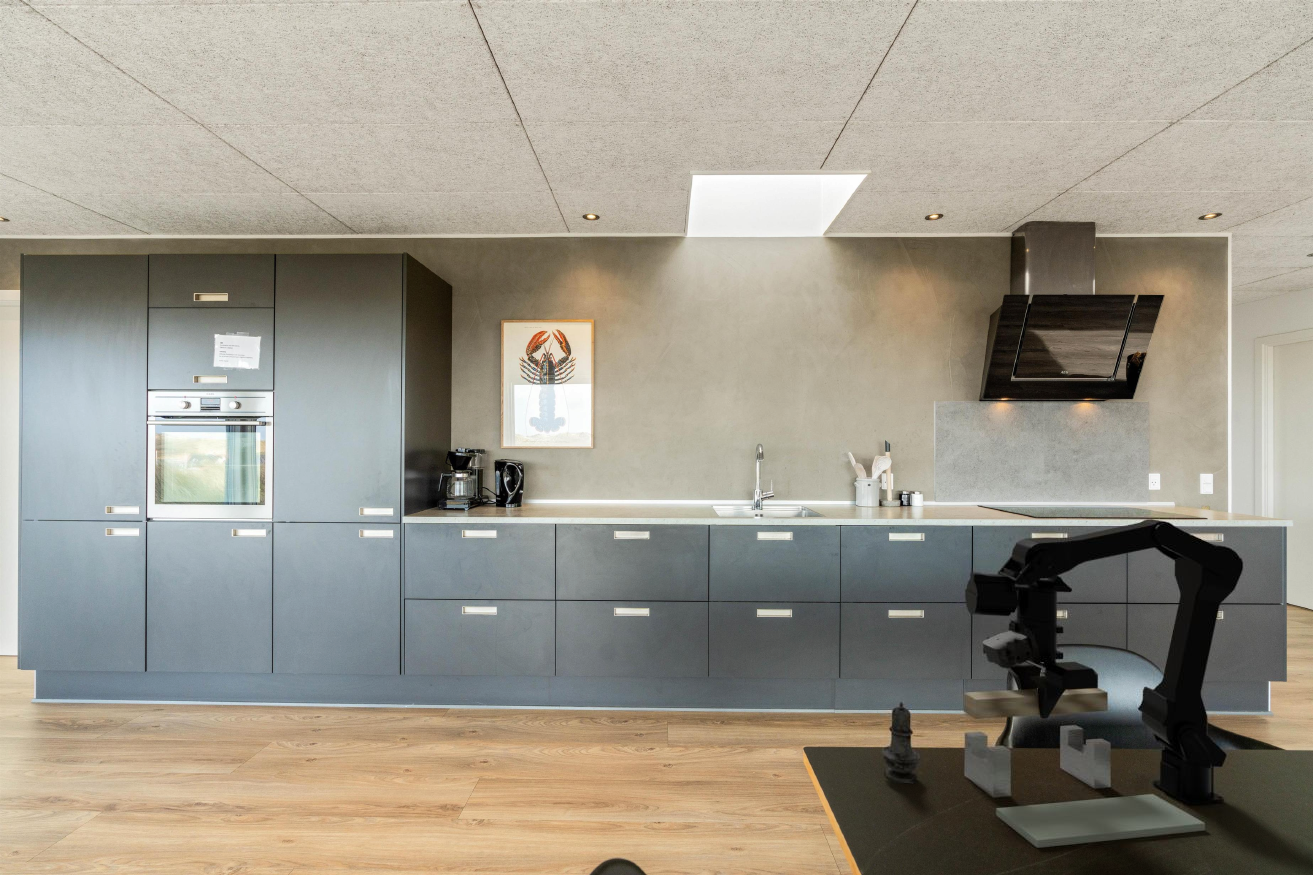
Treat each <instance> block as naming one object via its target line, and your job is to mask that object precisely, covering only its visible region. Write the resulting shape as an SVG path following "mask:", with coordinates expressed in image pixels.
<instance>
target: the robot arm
mask: <svg viewBox="0 0 1313 875" xmlns="http://www.w3.org/2000/svg"><path fill="white" fill-rule="evenodd" d="M1153 548H1154V549H1156V550H1157V551H1158V552H1159V553H1160V554H1162V555H1163V556H1166V557H1167V558H1169V559H1171V560H1172V561H1174V577H1175V580H1176V583H1177V586H1178V587H1177V588H1178V590H1179V594H1180V596H1179V600H1178V604H1177V610H1176V611H1177V612H1176V614H1175V615H1176V616H1175V620H1174V624H1173V630H1172V634H1171V639H1170V643H1169V647H1168V652H1167V656H1166V657H1167V658H1166V662H1165V667H1164V672H1163V676H1162V677H1163V678H1162V680H1161V681H1160V682H1159V683H1158V685H1156V686H1155V688H1150V687H1148V686H1144V688H1143V689H1142V700H1141V703H1140V705H1139V706H1138V707H1137V710H1138V711H1139V712H1141V722H1142V723H1143V724H1144V726H1145V727H1146V729H1148V730H1149V731H1150V732H1151V733H1152V735H1153V738H1154V741H1155V742H1157V743H1159V744H1160V745H1162V746H1164V749H1161V751H1160V752H1161V757H1160V759H1161V760H1159V779H1157V780H1152V781H1151V782H1152V785H1153V786H1154V787H1156V788H1158V789H1160V790H1162V791H1163V792H1166V793H1167V794H1169V795H1171V796H1172V797H1175V798H1177V799H1179V800H1180V801H1182V802H1184V803H1186V804H1188V805H1190V806H1191V805H1203V804H1213V803H1215V804H1216V803H1224V802H1225V797H1224V796H1221V795H1219V794H1217V793H1216V792H1214V791H1215V786H1214V785H1215V783H1214V782H1215V780H1214V779H1215V778H1214V777H1215V773H1214V772H1215V770H1214V769H1215V768H1216V767H1217V768H1222V767H1223V765H1224V763H1225V761H1226V758H1227V753H1226V752H1225V751H1224V750H1223V749H1222V748H1221V747H1220V746H1219V745H1218V744H1217V743H1216V742H1215V741H1213V740H1212V739H1211V738H1210V736H1209V735H1208V721H1209V720H1208V719H1209V718H1208V714H1207V711H1206V707H1205V703H1204V701H1203V697H1202V691H1203V685H1204V680H1205V675H1206V670H1207V666H1208V661H1209V656H1210V653H1211V648H1212V643H1213V638H1214V633H1215V629H1216V624H1217V620H1218V613H1219V611H1220V607H1221V604H1222V603H1223V602H1224V601H1225V600H1226V599H1227V598H1228V597H1229V596H1230V595H1231V594H1232V593H1233V592H1234V591H1235V590H1236V587H1237V585H1238V583H1239V580H1240V577H1241V576H1242V573H1243V571H1244V561H1243V559H1242V557H1240V556H1239V554H1238V552H1236V551H1235V550H1234V549H1232V548H1231V547H1227V546H1225V545H1221V544H1220V545H1219V544H1214V543H1210V542H1208V541H1207V540H1204V539H1201V538H1200V537H1197V536H1195V535H1193V534H1191V533H1190V532H1189V533H1188V532H1186V531H1184V530H1182V529H1180V528H1179V527H1177V526H1176V525H1173V523H1171V522H1169V521H1164V520H1160V519H1159V520H1158V519H1153V518H1151V519H1150V518H1149V519H1144V520H1142V521H1140V522H1136V523H1131V524H1127V525H1122V526H1118V527H1113V528H1108V529H1104V530H1103V529H1102V530H1098V531H1094V532H1089V533H1085V534H1080V535H1076V536H1070V537H1068V536H1067V537H1049V536H1047V537H1026V538H1022V539H1021V540H1019V541H1017V542H1016V543H1015V544H1014V546H1013V549H1012V551H1011V556H1010V557H1009V558H1008V560H1007V561H1006V562H1005V563H1004V564H1003V566H1002V567H1001V568H1000V569H999V570H998V572H997V574H993V573H982V572H976V571H975V572H974V571H973V572H972V571H971V572H970V574H969V575H970V577H969V580H968V581H967V583H966V589H965V590H964V597H965V598H964V599H965V604H966V608H967V611H968V613H969V614H970V615H976V616H978V615H979V616H980V615H981V616H995V617H996V616H997V617H1000V616H1001V617H1009V616H1011V614H1012V613H1013V614H1014V613H1015V612H1016V619H1015V620H1012V619H1011V620H1010V622H1009V623H1008V630H1007V631H1005V632H1001V633H998V634H996V635H993V636H987V637H986V639H984V640H982V646H983V650H982V652H983V654H985V655H986V659H987V661H988V662H990V663H993V664H996V665H998V666H999V667H1000V668H1003V669H1006V670H1008V672H1010V673H1011V675H1012V677H1013V680H1014V682H1015V684H1016V686H1017V690H1025V689H1038V702H1039V713H1040V715H1039V718H1041V719H1042V720H1043V719H1044V720H1045V719H1048V718H1049V716H1050V715H1052V714H1051V712H1052V710H1053V709H1054V707H1055V705H1056V704H1057V702H1058V700H1059V699H1060V697H1061V696H1062V694H1063V693H1064V692H1065V690H1075V689H1093V688H1099V674H1098V673H1097V672H1096V671H1095V669H1094V668H1092V667H1089V666H1087V665H1085V664H1082V663H1079V662H1077V661H1063V662H1062V661H1061V662H1057V660H1064V652H1062V651H1060V650H1058V634H1064V626H1062V625H1059V624H1058V593H1071V592H1073V589H1072V587H1070V586H1069V585H1068V584H1067V583H1066V582H1065V581H1064V580H1063V578H1062V577H1061V576H1060V575H1062V574H1065V573H1068V572H1070V571H1072V570H1073V569H1074V568H1076V567H1077V566H1079V565H1082V564H1084V563H1087V562H1092V561H1095V560H1096V561H1097V560H1101V559H1105V558H1111V557H1115V556H1120V555H1124V554H1130V553H1135V552H1139V551H1144V550H1149V549H1153Z"/></svg>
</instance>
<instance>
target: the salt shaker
mask: <svg viewBox="0 0 1313 875" xmlns="http://www.w3.org/2000/svg"><path fill="white" fill-rule="evenodd" d="M898 705H899V706H896V707H893V709H892V711H891V726H890V727H889V731H890V732H891V733H890V735H891V737H890V738H891V739H890V745H888V746H885V747H883V748H882V750H881V753H882V755H883V759H884V761H885V763H886V765H887V766H888V767H887V768H886V769H884V770H885V771H884V770H883V775H884V774H885V775H884V777H885V776H887V777H888V778H889V779H890V781H891V780H893V781H892V782H894V781H896V782H895V783H897V782H900V783H899V784H902V783H912V784H915V783H917V782H918V781H917V779H918V780H919V777H917V776H918V775H917V774H916V773H915V772H914V771H915V770H916V769H917V766H918V765H919V761H920V760H921V755H920V754H919V753H918V752H917V751H916V750H914V749H913V748H912V735H913V733H914V732H913V731H914V730H912V729H911V712H910V710H909V709H908V708H906V707H904V704H903V701H901V702H899V703H898ZM885 772H886V773H885ZM887 777H886V778H887ZM888 778H887V779H888ZM916 778H917V779H916ZM889 779H888V780H889ZM916 781H917V782H916ZM914 782H915V783H914Z"/></svg>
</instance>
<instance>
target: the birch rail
mask: <svg viewBox="0 0 1313 875" xmlns="http://www.w3.org/2000/svg"><path fill="white" fill-rule="evenodd" d="M1108 693H1109V692H1108V691H1105V690H1103V689H1101V688H1099V687H1098V688H1093V689H1075V690H1065V692H1064V693H1063V694H1062V696H1061V697H1060V699H1059V700H1058V702H1057V704H1056V705H1055V707H1054V709H1053V710H1052V712H1051V714H1050V715H1059V714H1060V715H1063V714H1077V713H1079V714H1080V713H1094V712H1108V708H1109V707H1108V705H1109V703H1108V700H1109V698H1108V697H1109V696H1108ZM963 713H965V714H967V715H968V716H970V717H972V718H973V719H975V720H978V719H979V720H982V719H995V718H996V719H998V718H1013V717H1026V716H1027V717H1028V716H1029V717H1031V716H1032V717H1033V716H1040V713H1039V702H1038V688H1037V689H1025V690H1018V689H1013V690H1012V689H1010V690H993V691H992V690H991V691H990V690H989V691H987V690H986V691H974V692H973V691H971V692H963Z"/></svg>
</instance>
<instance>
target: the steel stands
mask: <svg viewBox="0 0 1313 875" xmlns="http://www.w3.org/2000/svg"><path fill="white" fill-rule="evenodd" d="M1059 729H1060V730H1059V731H1060V732H1059V733H1060V734H1059V750H1060V751H1059V756H1060V757H1059V765H1060V766H1059V767H1060V769H1062V770H1063V771H1065V772H1066V773H1068V774H1070V775H1071V776H1073V777H1074V778H1076V779H1078V780H1080V781H1081V782H1083V783H1084V784H1086V785H1088V786H1089V787H1091V788H1092V789H1096V790H1097V789H1105V788H1106V789H1107V788H1111V778H1112V777H1111V771H1112V770H1111V767H1112V766H1111V760H1112V759H1111V758H1112V757H1111V751H1112V750H1111V745H1112V744H1111V742H1110V741H1107V740H1105V739H1103V738H1093V739H1092V738H1091V739H1090V738H1089V739H1086V740H1085V744H1084V728H1082V727H1081V726H1078V725H1076V724H1075V725H1074V724H1072V725H1061V726H1060V728H1059ZM988 738H989V737H988V735H987V734H986V733H984V732H983V731H971V732H969V731H968V732H967V731H966V732H964V777H966V778H967V779H968V780H970V781H971V782H972V783H973V784H974V785H976V786H977V787H978V788H979V789H981V790H983V791H984V792H985V793H987V795H989V796H991V797H992V798H1001V797H1011V794H1012V793H1011V789H1012V788H1011V778H1012V777H1011V776H1012V775H1011V771H1012V770H1011V766H1012V764H1011V763H1012V760H1011V755H1012V754H1011V753H1012V750H1011V749H1009V747H1007V746H1005V745H994V746H988V740H989V739H988Z"/></svg>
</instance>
